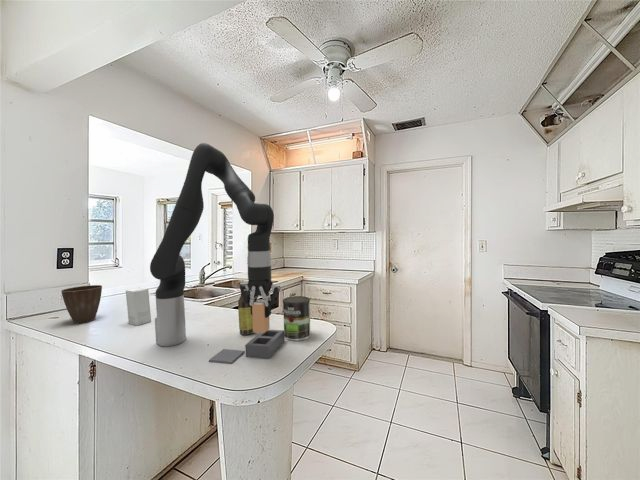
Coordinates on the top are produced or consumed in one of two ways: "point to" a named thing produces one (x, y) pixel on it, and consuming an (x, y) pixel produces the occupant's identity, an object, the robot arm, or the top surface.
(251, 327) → the sauce bottle
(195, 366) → the top surface
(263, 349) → the grey block holder
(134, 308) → the skincare box
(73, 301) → the plant pot
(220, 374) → the top surface
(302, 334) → the coffee can
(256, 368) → the top surface
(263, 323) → the plug
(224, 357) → the mat
